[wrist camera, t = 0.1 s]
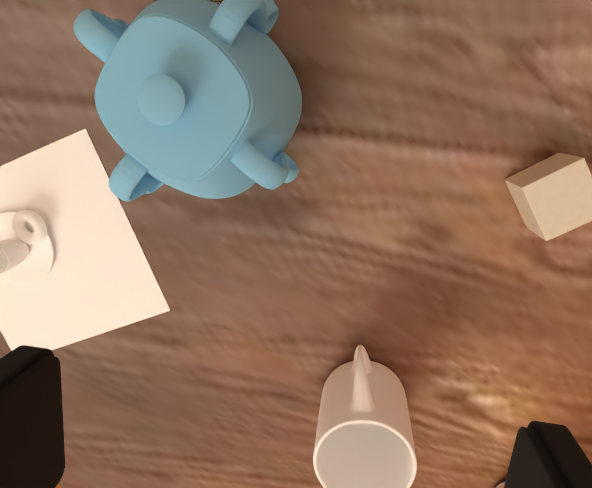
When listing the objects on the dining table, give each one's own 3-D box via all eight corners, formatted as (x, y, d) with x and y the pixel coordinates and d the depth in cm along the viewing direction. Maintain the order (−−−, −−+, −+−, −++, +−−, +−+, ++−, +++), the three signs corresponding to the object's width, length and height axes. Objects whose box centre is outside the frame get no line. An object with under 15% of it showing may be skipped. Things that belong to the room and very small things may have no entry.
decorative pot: (140, 188, 48) (59, 217, 35) (124, 11, 44) (25, -31, 31) (303, 191, 46) (282, 224, 33) (304, 6, 42) (279, -40, 29)
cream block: (503, 179, 43) (521, 187, 39) (558, 152, 42) (584, 157, 38) (526, 227, 44) (546, 241, 40) (581, 202, 43) (608, 213, 38)
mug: (404, 325, 48) (416, 382, 38) (405, 430, 51) (417, 509, 41) (318, 326, 49) (307, 382, 39) (324, 428, 53) (316, 505, 42)
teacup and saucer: (40, 196, 50) (13, 204, 46) (75, 267, 51) (52, 280, 47) (-27, 225, 51) (-59, 234, 47) (9, 292, 53) (-19, 306, 49)
